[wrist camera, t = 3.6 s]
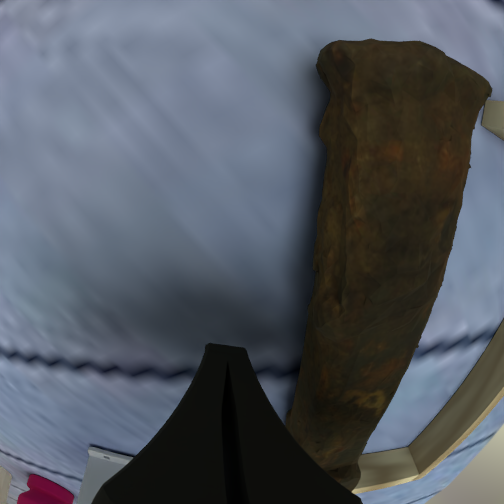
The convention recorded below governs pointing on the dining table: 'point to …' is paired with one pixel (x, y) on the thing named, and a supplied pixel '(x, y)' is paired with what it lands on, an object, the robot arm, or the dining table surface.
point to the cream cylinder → (4, 484)
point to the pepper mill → (44, 492)
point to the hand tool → (379, 233)
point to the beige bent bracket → (456, 410)
